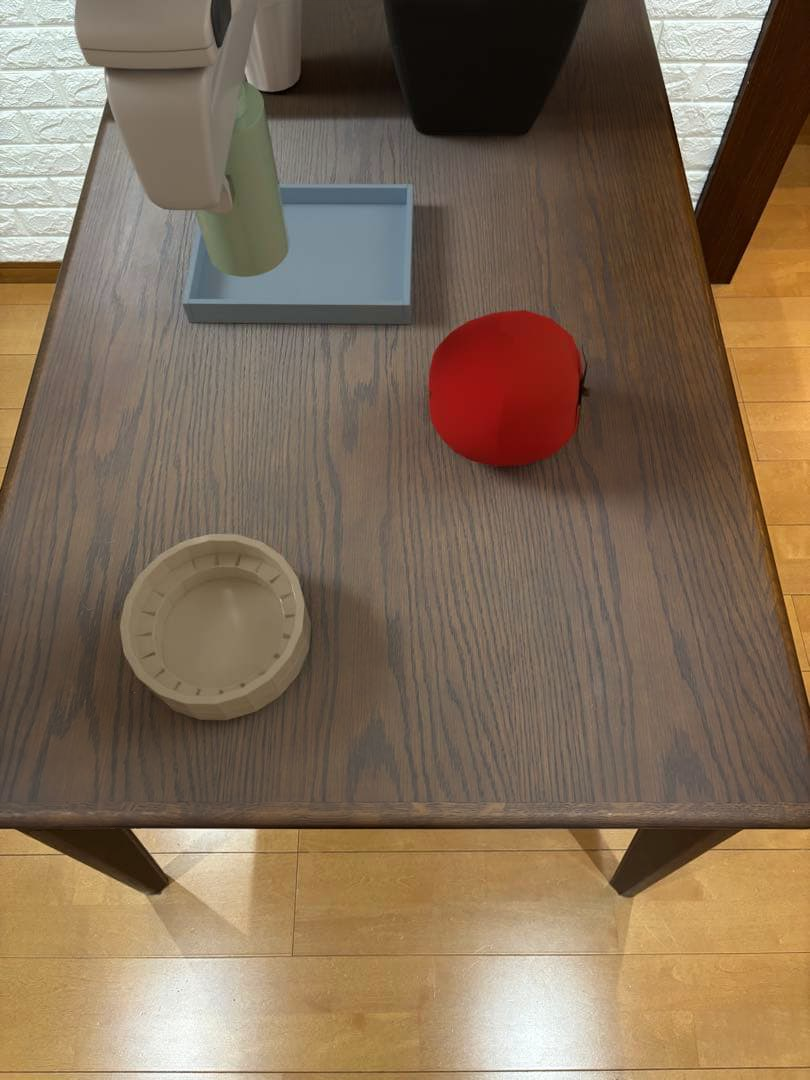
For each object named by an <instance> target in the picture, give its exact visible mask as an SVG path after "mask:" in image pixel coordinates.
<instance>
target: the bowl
mask: <svg viewBox="0 0 810 1080" xmlns="http://www.w3.org/2000/svg"><path fill="white" fill-rule="evenodd" d="M124 599H125V600H124V603H123V607H122V612H121V620H120V623H119V631H120V639H121V645H122V652H123V655H124V657H125V658H126V661H127V662H128V664H129V666H130V668H131V670H132V671H133V673H134V674H135V676H136V677H137V679H138V680H139V681H140V682H141V683H142V684H143V685H144V686H145V687H146V688H147V689H148V690H149V691H150V692H151V693H152V694H153V695H154V696H155V697H157V698H158V699H159V700H160V701H161V702H163V703H164V704H165V705H166V706H167V707H168V708H170V709H171V710H172V711H174V712H177V713H179V714H182V715H184V716H185V715H186V716H188V717H192V718H193V719H197V720H200V721H201V720H203V721H204V720H205V721H206V720H207V721H229V720H232V719H235V718H240V717H242V716H247V715H250V714H253V713H255V712H258V711H259V710H261V709H262V708H264V707H265V706H267V705H268V704H270V703H272V702H273V701H275V700H276V699H278V698H279V697H281V695H283V693H284V692H285V691H286V690H287V689H288V687H289V686H291V684H292V683H293V682H294V680H295V679H296V678H297V676H299V674H300V672H301V669H302V667H303V665H304V663H305V661H306V657H307V655H308V653H309V651H310V645H311V644H310V642H311V632H312V631H311V630H312V622H311V617H310V613H309V609H308V606H307V602H306V598H305V595H304V592H303V589H302V586H301V582H300V580H299V577H298V575H297V574H296V572H295V571H294V569H293V568H292V567H291V565H290V564H289V563H288V562H287V560H286V558H285V557H284V556H283V555H281V554H280V553H279V552H278V551H276V550H275V549H273V548H272V547H270V546H269V545H267V544H266V543H264V542H263V541H260V540H256V539H254V538H251V537H247V536H245V535H241V534H236V533H209V534H204V535H201V536H197V537H194V538H190V539H184V540H183V541H181V542H179V543H177V544H176V545H174V546H172V547H170V548H168V549H167V550H165V551H163V552H162V553H160V554H159V555H157V556H156V557H155V558H154V559H153V560H152V561H151V562H150V563H149V564H148V565H147V566H145V568H144V569H143V570H142V571H141V572H140V573H139V574H138V575H137V577H136V579H135V580H134V583H133V585H132V586H131V588H130V590H129V591H128V593H127V595H126V597H125V598H124Z"/></svg>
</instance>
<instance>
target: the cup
mask: <svg viewBox="0 0 810 1080" xmlns="http://www.w3.org/2000/svg"><path fill="white" fill-rule="evenodd" d="M302 1H303V0H257V12H256V16H255V21H254V26H253V31H252V36H251V41H250V46H249V52H248V57H247V62H246V67H245V78H246V80H247V82H248V83H250V84H251V85H253V86H254V87H255V88H257V89H258V91H262V92H269V93H274V92H279V91H284V90H286V89H289V88H291V87H293V86H294V85H295V84H297V82H298V81H299V79H300V76H301V69H302V68H301V67H302V5H303V2H302Z"/></svg>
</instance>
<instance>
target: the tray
mask: <svg viewBox="0 0 810 1080" xmlns="http://www.w3.org/2000/svg"><path fill="white" fill-rule="evenodd" d="M279 186H280V191H281V196H282V202H283V207H284V213H285V218H286V223H287V229H288V234H289V240H290V248H289V251H288V254H287V256H286V257H285V259H284V260H283V261H282V262H281V263H280V264H279V265H278V266H277V267H275V268H274V269H272V270H271V271H269V272H266V273H264V274H261V275H257V276H251V277H238V276H232V275H229V274H226V273H224V272H222V271H220V270H219V269H217V268H216V267H215V266H214V265H213V264H212V262H211V261H210V259H209V256H208V253H207V249H206V246H205V243H204V240H203V236H202V233H201V230H200V227H199V223H198V222H197V225H196V230H195V235H194V240H193V245H192V252H191V256H190V259H189V260H190V262H189V267H188V272H187V277H186V281H185V286H184V287H185V288H184V291H183V297H182V300H181V301H182V303H181V305H182V307H183V310H184V314H185V316H186V318H187V321H188V323H192V324H193V323H195V324H196V323H199V324H202V323H205V324H207V323H208V324H209V323H210V324H314V325H315V324H317V325H319V324H320V325H321V324H327V325H328V324H329V325H334V324H335V325H337V324H338V325H411V314H412V312H411V311H412V310H411V307H412V276H413V275H412V273H413V271H412V269H413V234H414V184H413V183H279Z"/></svg>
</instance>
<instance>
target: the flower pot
mask: <svg viewBox="0 0 810 1080" xmlns="http://www.w3.org/2000/svg"><path fill="white" fill-rule="evenodd" d="M382 4H383V10H384V11H383V12H384V17H385V22H386V28H387V34H388V40H389V45H390V49H391V54H392V59H393V63H394V67H395V72H396V76H397V79H398V82H399V86H400V89H401V92H402V97H403V99H404V102H405V105H406V108H407V111H408V114H409V117H410V119H411V122H412V123H413V124H412V125H413V127H414V129H415V130H416V132H417V133H420V134H424V135H524V134H527V133H529V132H530V130H531V129H532V128H533V125H534V124H535V123H536V121H537V120H538V118H539V116H540V115H541V113H542V111H543V109H544V107H545V106H546V104H547V102H548V100H549V98H550V97H551V94H552V92H553V90H554V88H555V86H556V84H557V82H558V80H559V77H560V76H561V73H562V71H563V69H564V66H565V64H566V62H567V59H568V57H569V54H570V51H571V49H572V46H573V44H574V42H575V39H576V36H577V33H578V30H579V28H580V25H581V22H582V19H583V16H584V12H585V10H586V7H587V4H588V0H382Z"/></svg>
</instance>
